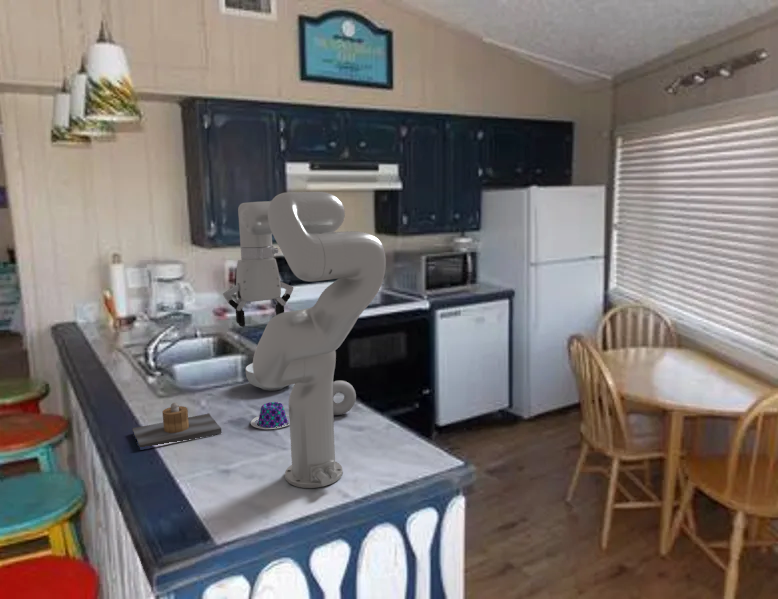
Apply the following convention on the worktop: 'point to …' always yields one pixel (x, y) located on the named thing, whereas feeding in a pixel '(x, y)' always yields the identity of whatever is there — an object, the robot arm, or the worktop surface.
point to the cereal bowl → (254, 382)
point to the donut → (348, 397)
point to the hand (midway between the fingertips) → (261, 323)
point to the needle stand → (196, 429)
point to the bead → (175, 420)
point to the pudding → (271, 416)
